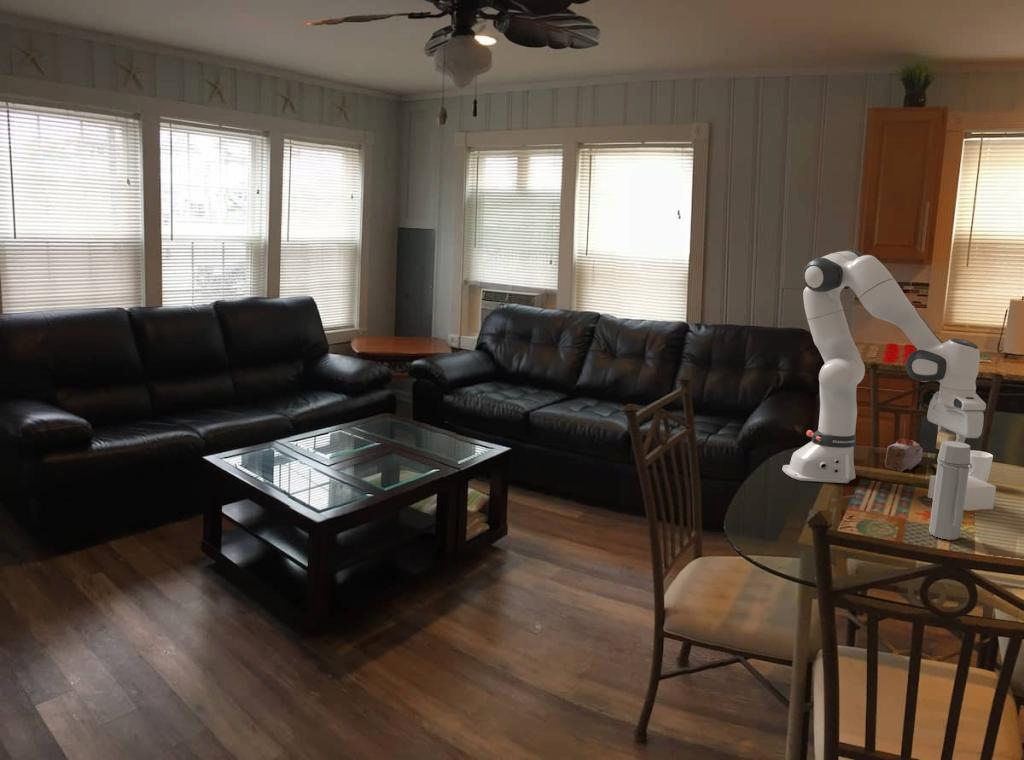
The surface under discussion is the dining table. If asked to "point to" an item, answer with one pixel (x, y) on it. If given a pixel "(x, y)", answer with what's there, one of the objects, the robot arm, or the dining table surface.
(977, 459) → the white cup
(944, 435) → the oak cube
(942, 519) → the water bottle
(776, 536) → the dining table surface
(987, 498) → the white square block
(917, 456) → the food item
